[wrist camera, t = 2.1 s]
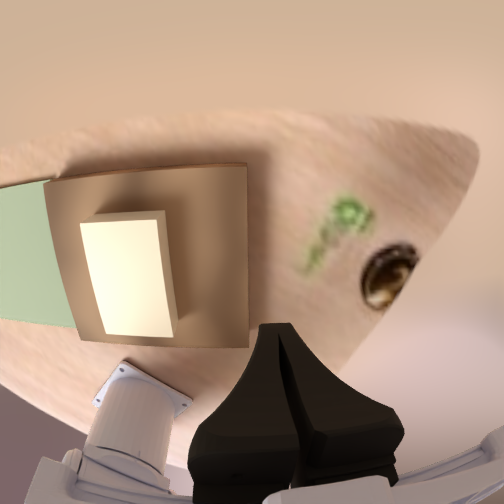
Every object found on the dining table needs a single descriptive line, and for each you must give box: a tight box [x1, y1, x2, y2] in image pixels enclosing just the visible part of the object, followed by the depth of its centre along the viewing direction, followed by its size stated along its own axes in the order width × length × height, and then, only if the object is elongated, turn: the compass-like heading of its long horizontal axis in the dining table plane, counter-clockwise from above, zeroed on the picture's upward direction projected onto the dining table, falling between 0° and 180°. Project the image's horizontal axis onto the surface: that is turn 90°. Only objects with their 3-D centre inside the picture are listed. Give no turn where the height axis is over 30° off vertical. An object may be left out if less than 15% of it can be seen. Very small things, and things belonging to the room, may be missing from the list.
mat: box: [0, 179, 77, 328], centre depth 21 cm, size 14×13×1 cm
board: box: [43, 163, 249, 348], centre depth 20 cm, size 14×13×2 cm
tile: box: [80, 210, 178, 337], centre depth 19 cm, size 5×8×2 cm, turn 0°
